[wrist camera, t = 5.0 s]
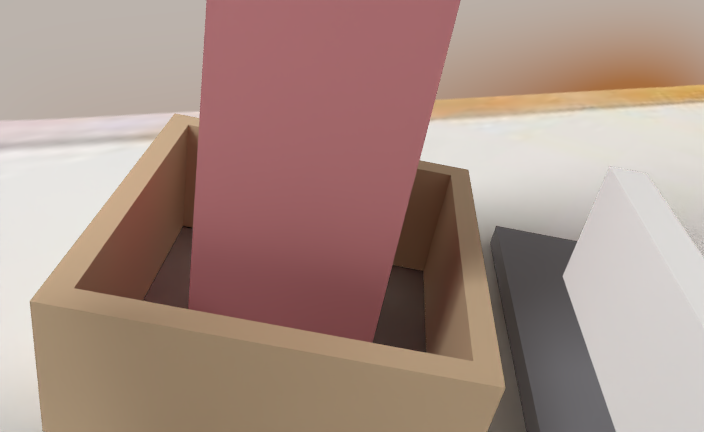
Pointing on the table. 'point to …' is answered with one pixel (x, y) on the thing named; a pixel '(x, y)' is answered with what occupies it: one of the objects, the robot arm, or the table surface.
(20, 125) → the table surface
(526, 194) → the table surface
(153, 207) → the hollow rectangular frame
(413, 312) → the table surface
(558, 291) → the rubber mat
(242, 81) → the pink rectangular block
